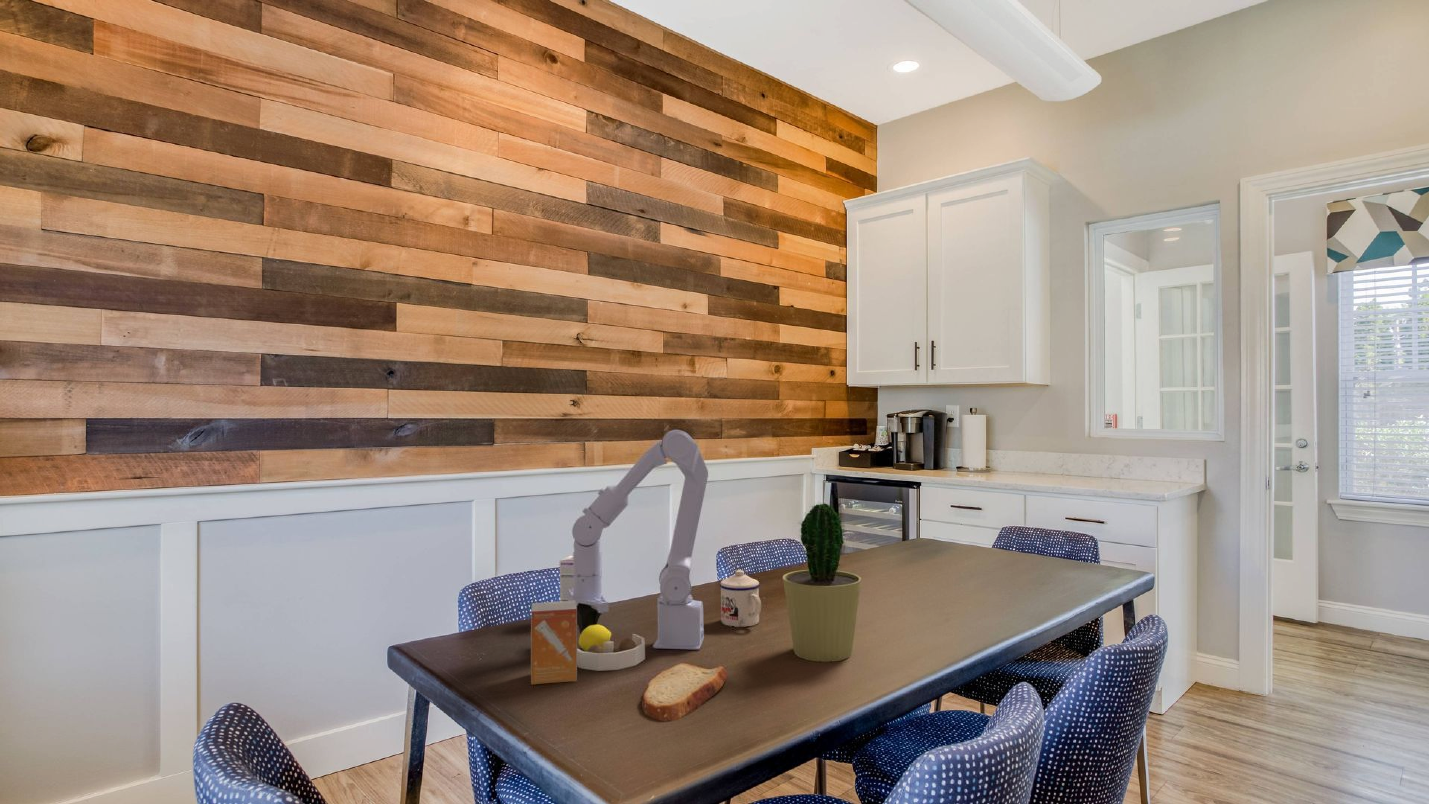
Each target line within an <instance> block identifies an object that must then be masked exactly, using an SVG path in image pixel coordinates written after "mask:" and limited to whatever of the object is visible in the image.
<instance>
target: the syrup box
mask: <svg viewBox="0 0 1429 804" xmlns="http://www.w3.org/2000/svg"><path fill="white" fill-rule="evenodd" d="M570 589H573V555H568V556H567V557H565V558H563V559H560V560H559V594H560V596H559V601H568V590H570ZM577 604H578V603H577V602H576V606H577Z"/></svg>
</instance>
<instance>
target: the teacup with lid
mask: <svg viewBox="0 0 1429 804" xmlns="http://www.w3.org/2000/svg"><path fill="white" fill-rule="evenodd" d="M760 586H761V585H760V582H759V581H758V580H757V579H754V578H752V577H750V576H749V575H746V574H745V571H744V570H743V569H739V570H736V571H735V573H734V574H733V575H731V576H729V577H728V578H725V579H722V580H721V581H720V583H719V587H720V616H721V617H720V621H721V623H722V624H723V625H724V626H728V627H732V626H734V627H733V628H747V626H748V627H752V626H756V625H757V624H758V623H759V621H760V614H761V610H762V602H761V597H759V596H760V595H759V593H760V591H759V590H760V589H759V587H760Z"/></svg>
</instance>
